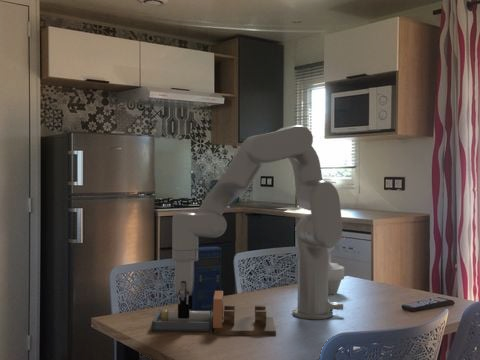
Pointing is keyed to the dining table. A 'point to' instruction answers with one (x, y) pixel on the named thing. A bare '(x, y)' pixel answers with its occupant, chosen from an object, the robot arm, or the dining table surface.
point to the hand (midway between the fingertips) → (185, 313)
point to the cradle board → (246, 323)
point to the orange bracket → (218, 309)
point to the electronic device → (206, 278)
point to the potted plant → (334, 274)
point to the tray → (181, 325)
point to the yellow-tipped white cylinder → (193, 317)
